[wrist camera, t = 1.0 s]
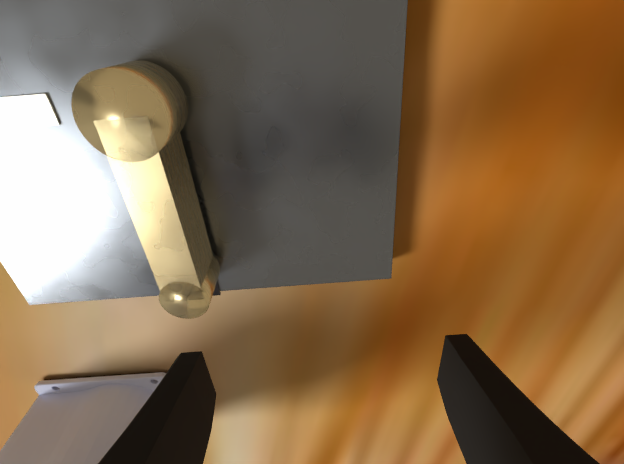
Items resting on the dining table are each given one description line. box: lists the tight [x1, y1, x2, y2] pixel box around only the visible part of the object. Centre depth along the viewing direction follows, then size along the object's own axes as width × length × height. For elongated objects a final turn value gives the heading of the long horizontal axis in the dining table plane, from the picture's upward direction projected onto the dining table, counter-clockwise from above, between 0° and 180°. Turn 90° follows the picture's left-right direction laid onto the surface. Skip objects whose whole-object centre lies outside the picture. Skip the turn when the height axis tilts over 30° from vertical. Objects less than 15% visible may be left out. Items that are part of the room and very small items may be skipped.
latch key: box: [71, 61, 220, 319], centre depth 14 cm, size 11×3×2 cm, turn 4°
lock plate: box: [0, 0, 408, 305], centre depth 15 cm, size 20×20×2 cm
